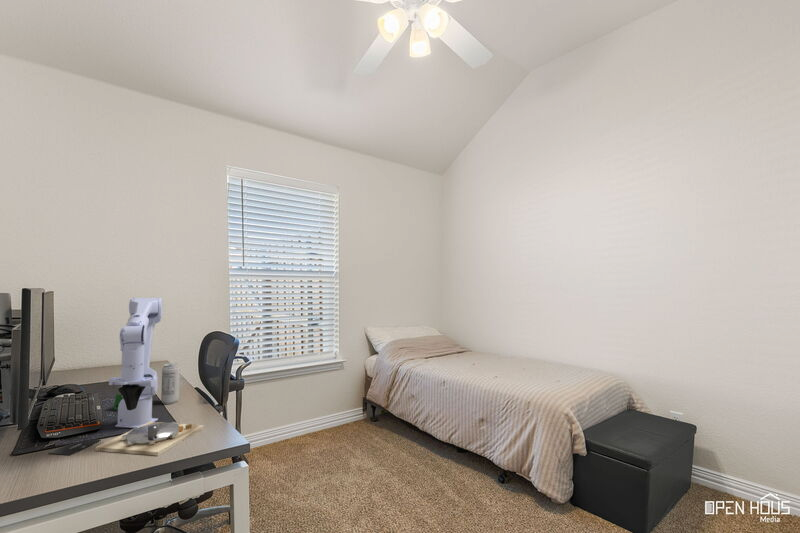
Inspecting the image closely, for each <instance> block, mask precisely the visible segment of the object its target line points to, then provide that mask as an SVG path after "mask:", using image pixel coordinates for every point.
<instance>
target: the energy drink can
mask: <svg viewBox="0 0 800 533" xmlns="http://www.w3.org/2000/svg"><path fill="white" fill-rule="evenodd" d="M160 396H161V399H160V400H161V403H162V404H163V405H172V404H173V405H174V404H176V403H177V402H178V400H179V398H180V366H179V364H178V362H171V363H165V364H163V367H162V369H161V395H160Z"/></svg>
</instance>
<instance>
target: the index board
mask: <svg viewBox="0 0 800 533" xmlns="http://www.w3.org/2000/svg"><path fill="white" fill-rule="evenodd" d="M156 422H158V423H164V422H163V421H155V422H148V423H146V424H144V425H141V426H139V427H142V426H146V425H150V424H153V423H156ZM177 424H178V425H179V426H183V431H179V433H178V434H176V437H175V438H169V439H166V440H163V441H159V442H155V444H151V445H149V444H134V445H128V442H127V441H126V440H122V436H123V435H127V434H128V433H129V432H130V431H132V429H131V430H129V431H127V432H124V433H123V434H121V435H118V436H117V437H114V438H112V439H109V440H108V441H106V442H104V443H101V444H99V445H97V446H95V451H97V452H106V453H107V452H108V453H109V452H110V453H121V454H132V455H145V456H146V455H147V456H156V457H158V456H160V455H162V454H164V453H165V452H167V451H168V450H170V449H172V448H174V447H175V446H177V445H178V444H180V443H182V442H184V441H186V440H187V439H188V437H189V438H190V437H191V435H192V436H194V435H195V434H197V433H198V431H199V432H201V431H202V430H204V429H205V425H203V424H193V423H178V422H177ZM139 427H137V428H139ZM203 428H204V429H203ZM201 429H202V430H201ZM193 434H194V435H193ZM183 440H184V441H183Z"/></svg>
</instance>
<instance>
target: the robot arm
mask: <svg viewBox="0 0 800 533" xmlns="http://www.w3.org/2000/svg"><path fill="white" fill-rule="evenodd" d="M128 302H129V303H128V311H129V318H128V319H127V322H126V325H125V326H123V327H121V328H120V332H119V344H120V345H119V346H120V351H121V374H120V377H119V376H118V377H116V376H114V377H110V378H109V379H108V386H113V385H116V386H121V387H119V388H118V392H119V394H121V395H122V397H123V399H122V400H121V401H120V403H119V406H118V410H117V424H116V425H115V427H116V428H127V429H128V428H131V429H133V428H137V427H139V426H141V425H144V424H146V423H148V422H158V421H159V418H155V417H153V416H152V415H153V399H152V396H153V397H154V396H156V394H157V393H158V386H159V384H158V383H159V382H158V380H159V379H158V373H157V371H156V370H154V369H153V368H152V367H150V364H151V363H150V362H151V354H152V353H151V352H152V344H153V335H154V334H153V332H154V329H155V326H156V324H158V323H160V322H161V320H162V316H163V303H164V300H163V298H162V297H132V298H130V300H129V301H128Z"/></svg>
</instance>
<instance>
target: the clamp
mask: <svg viewBox="0 0 800 533" xmlns="http://www.w3.org/2000/svg"><path fill="white" fill-rule="evenodd" d="M153 398H154V395H153V396H152V400H153ZM122 399H123V397H122V395H121V393H118V394H116V395H115V401H114V403H113V409H114V410H115V411H118V406H119V403H120V401H121V400H122Z"/></svg>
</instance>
